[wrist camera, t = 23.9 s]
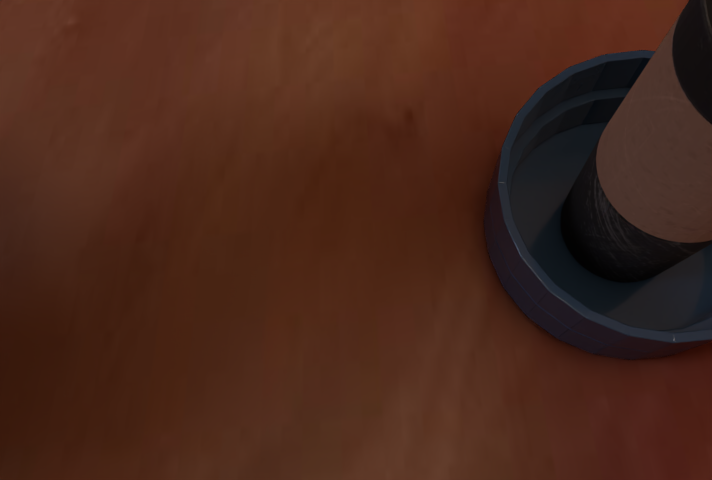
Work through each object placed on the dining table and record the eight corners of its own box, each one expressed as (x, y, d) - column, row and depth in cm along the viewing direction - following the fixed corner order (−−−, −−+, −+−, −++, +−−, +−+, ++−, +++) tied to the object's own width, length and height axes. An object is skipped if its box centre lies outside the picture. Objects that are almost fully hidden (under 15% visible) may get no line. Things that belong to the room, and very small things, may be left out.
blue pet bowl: (431, 203, 41) (437, 156, 34) (624, 70, 43) (664, 1, 36) (603, 417, 36) (648, 410, 30) (810, 256, 38) (896, 216, 32)
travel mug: (702, 278, 38) (1009, 103, 19) (571, 296, 38) (743, 142, 19) (665, 159, 40) (905, -102, 21) (542, 177, 40) (669, -67, 21)
